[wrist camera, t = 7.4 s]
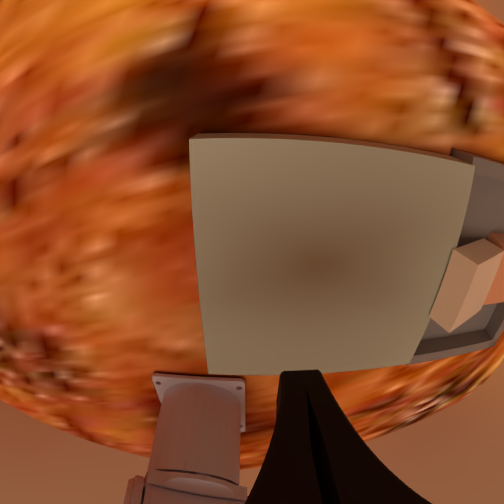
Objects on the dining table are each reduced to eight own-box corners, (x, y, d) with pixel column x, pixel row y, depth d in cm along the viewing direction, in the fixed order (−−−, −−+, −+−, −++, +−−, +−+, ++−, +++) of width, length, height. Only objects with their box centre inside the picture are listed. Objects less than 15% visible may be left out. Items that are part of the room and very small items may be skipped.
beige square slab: (398, 341, 22) (409, 363, 19) (211, 348, 21) (208, 373, 19) (451, 156, 15) (475, 165, 12) (198, 133, 14) (189, 139, 12)
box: (483, 331, 22) (493, 346, 20) (396, 346, 22) (405, 365, 20) (538, 175, 14) (556, 184, 13) (452, 148, 14) (473, 156, 12)
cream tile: (462, 296, 19) (480, 309, 17) (428, 316, 17) (449, 333, 15) (483, 238, 16) (504, 250, 15) (453, 249, 15) (478, 264, 13)
